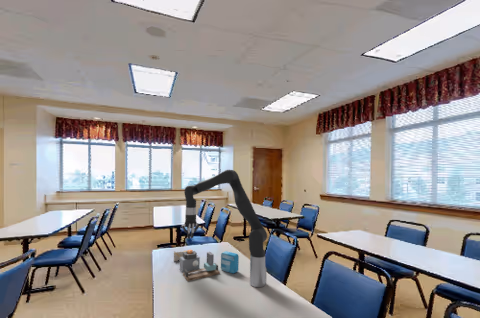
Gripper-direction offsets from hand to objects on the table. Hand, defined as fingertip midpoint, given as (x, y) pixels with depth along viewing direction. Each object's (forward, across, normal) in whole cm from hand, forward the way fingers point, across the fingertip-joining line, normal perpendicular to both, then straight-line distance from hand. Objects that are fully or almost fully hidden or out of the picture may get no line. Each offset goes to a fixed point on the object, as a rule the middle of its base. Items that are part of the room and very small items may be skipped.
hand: (190, 238), depth 165 cm
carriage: (+18, -10, +13) cm, 24 cm away
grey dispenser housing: (+21, 0, 0) cm, 21 cm away
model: (+22, +1, -18) cm, 28 cm away
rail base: (+21, -4, +12) cm, 25 cm away
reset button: (+11, 0, 0) cm, 11 cm away
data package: (+21, -23, +16) cm, 35 cm away
